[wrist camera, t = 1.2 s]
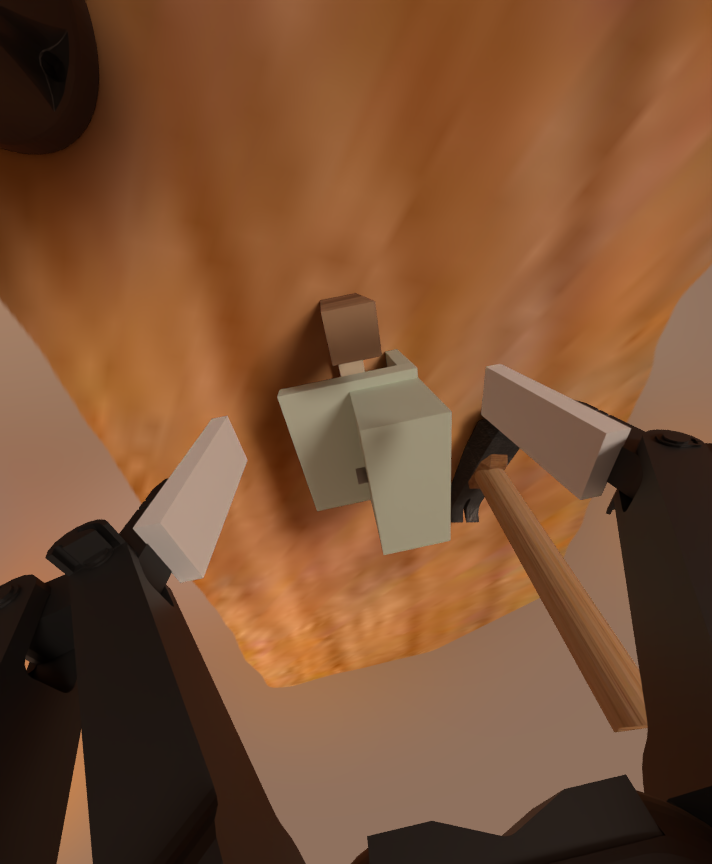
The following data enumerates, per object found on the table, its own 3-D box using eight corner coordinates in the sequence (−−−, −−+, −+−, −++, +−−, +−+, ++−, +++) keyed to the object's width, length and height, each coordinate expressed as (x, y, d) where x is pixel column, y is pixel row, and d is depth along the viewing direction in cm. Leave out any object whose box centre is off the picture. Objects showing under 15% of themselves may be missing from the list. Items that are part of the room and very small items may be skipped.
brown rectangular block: (320, 300, 30) (320, 312, 19) (355, 293, 30) (375, 301, 19) (349, 436, 39) (361, 494, 28) (377, 431, 39) (397, 486, 29)
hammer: (464, 493, 50) (581, 732, 28) (439, 493, 50) (538, 738, 27) (521, 404, 38) (822, 710, 15) (488, 402, 37) (754, 721, 14)
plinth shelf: (285, 372, 33) (262, 439, 19) (397, 349, 33) (451, 399, 20) (317, 472, 41) (316, 569, 27) (406, 453, 41) (450, 540, 28)
